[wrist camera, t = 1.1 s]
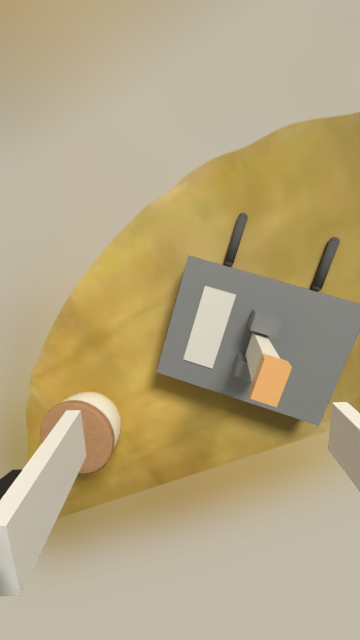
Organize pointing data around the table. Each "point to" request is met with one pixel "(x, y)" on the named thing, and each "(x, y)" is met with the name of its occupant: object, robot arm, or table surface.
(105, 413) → the lidded jar
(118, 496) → the table surface
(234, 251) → the router antennas
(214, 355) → the breaker box
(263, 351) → the breaker lever
